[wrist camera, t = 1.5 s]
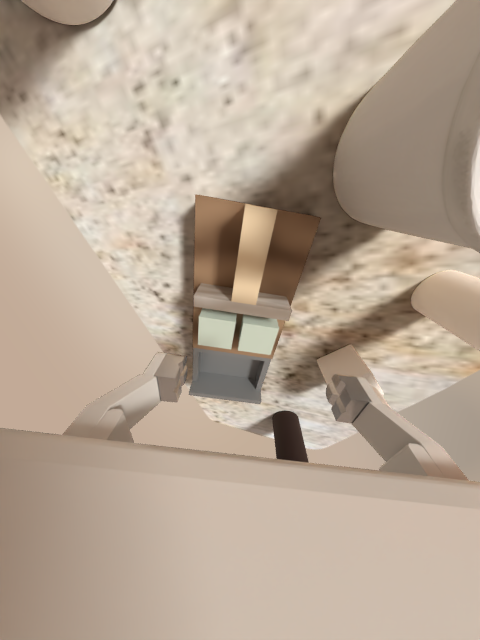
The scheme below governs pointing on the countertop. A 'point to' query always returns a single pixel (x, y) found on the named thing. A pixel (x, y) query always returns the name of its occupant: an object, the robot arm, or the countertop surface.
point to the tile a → (216, 328)
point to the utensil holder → (420, 138)
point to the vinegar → (288, 437)
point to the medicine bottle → (348, 368)
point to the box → (228, 375)
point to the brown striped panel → (222, 252)
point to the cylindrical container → (451, 303)
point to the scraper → (248, 273)
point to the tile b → (257, 334)
